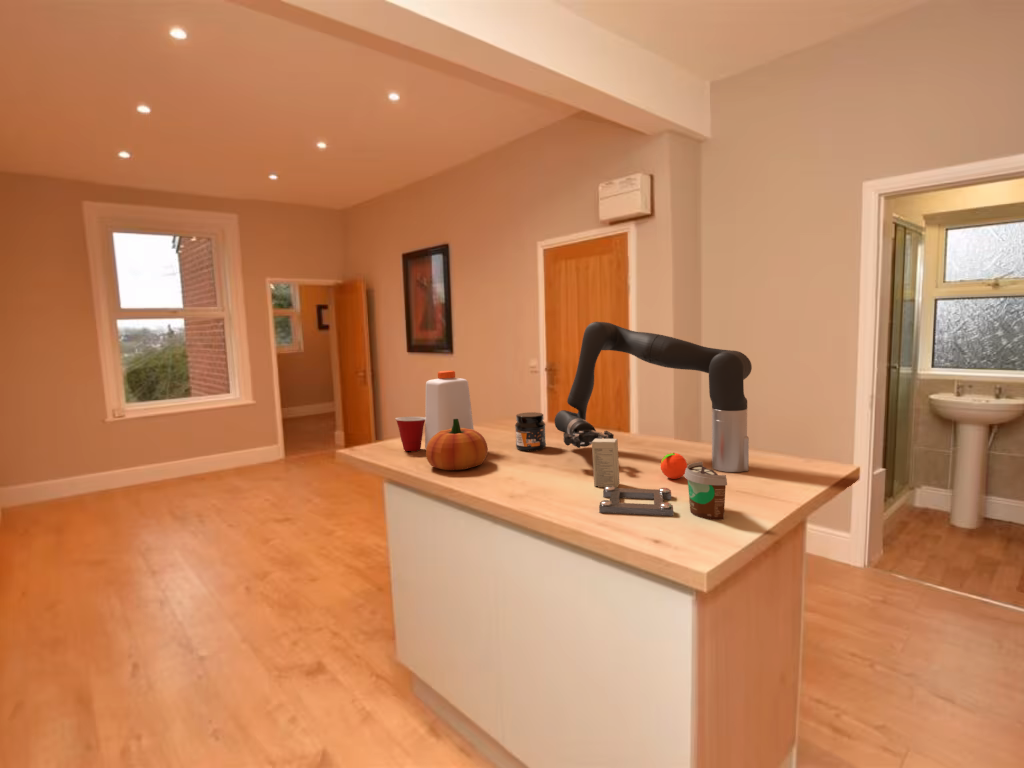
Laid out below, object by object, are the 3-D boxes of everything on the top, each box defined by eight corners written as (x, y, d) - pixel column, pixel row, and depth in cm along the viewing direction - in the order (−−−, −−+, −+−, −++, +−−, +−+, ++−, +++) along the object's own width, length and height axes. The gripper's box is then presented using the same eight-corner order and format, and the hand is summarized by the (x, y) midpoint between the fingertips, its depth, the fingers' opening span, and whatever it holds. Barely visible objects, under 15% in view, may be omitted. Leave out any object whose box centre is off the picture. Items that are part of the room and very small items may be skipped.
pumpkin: (462, 455, 181) (460, 411, 179) (501, 464, 167) (499, 417, 165) (414, 467, 167) (411, 420, 166) (452, 478, 154) (449, 426, 152)
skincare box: (619, 483, 142) (619, 438, 141) (617, 488, 138) (616, 441, 136) (595, 482, 144) (594, 437, 143) (592, 486, 140) (591, 441, 139)
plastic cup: (434, 448, 193) (432, 415, 192) (413, 454, 184) (411, 420, 183) (412, 445, 199) (410, 413, 197) (390, 452, 190) (388, 418, 188)
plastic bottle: (456, 443, 199) (452, 368, 196) (480, 449, 188) (476, 370, 185) (420, 450, 190) (416, 372, 187) (444, 457, 178) (439, 374, 175)
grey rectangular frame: (670, 496, 130) (670, 487, 130) (673, 516, 117) (673, 506, 116) (604, 493, 134) (604, 485, 134) (599, 512, 121) (599, 503, 120)
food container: (675, 504, 124) (675, 462, 123) (701, 503, 124) (701, 461, 123) (698, 524, 112) (698, 477, 111) (727, 522, 112) (727, 475, 111)
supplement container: (513, 451, 182) (512, 417, 181) (518, 445, 193) (517, 412, 191) (544, 452, 181) (543, 416, 179) (547, 444, 191) (546, 411, 190)
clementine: (670, 484, 140) (670, 457, 139) (652, 478, 146) (651, 452, 145) (693, 479, 143) (692, 453, 142) (674, 473, 149) (673, 448, 149)
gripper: (558, 421, 166) (569, 431, 150) (603, 419, 167) (618, 429, 151) (558, 444, 167) (569, 457, 151) (603, 442, 168) (618, 455, 152)
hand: (594, 443), depth 151 cm, fingers open, 8 cm apart
